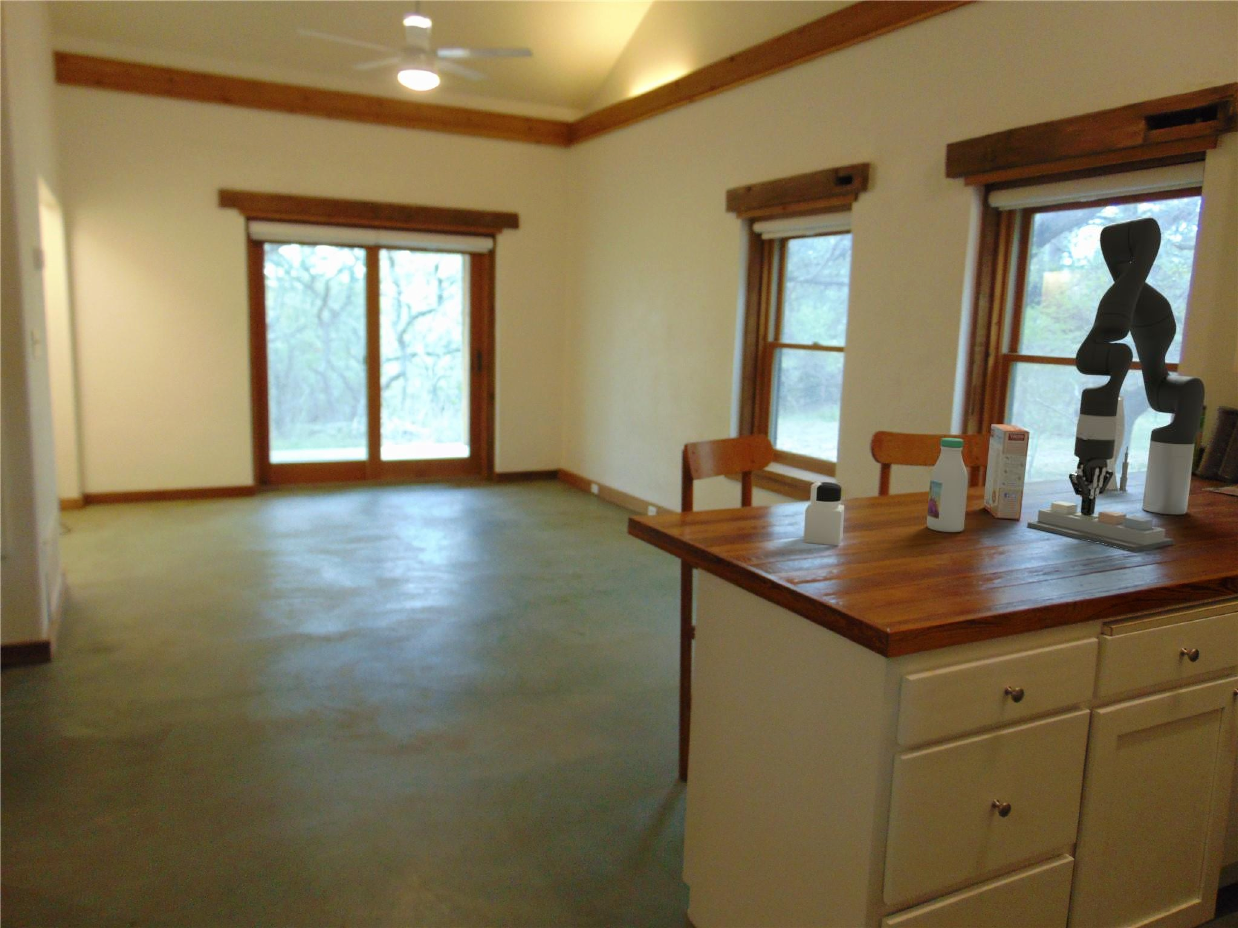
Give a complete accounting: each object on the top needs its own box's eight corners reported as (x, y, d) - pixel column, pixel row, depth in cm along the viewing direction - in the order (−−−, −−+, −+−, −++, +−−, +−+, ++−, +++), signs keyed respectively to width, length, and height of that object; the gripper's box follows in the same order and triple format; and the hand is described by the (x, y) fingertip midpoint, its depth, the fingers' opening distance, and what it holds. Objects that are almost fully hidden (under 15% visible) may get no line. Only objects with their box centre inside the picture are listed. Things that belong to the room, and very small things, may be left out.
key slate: (1133, 528, 186) (1134, 515, 185) (1151, 532, 183) (1152, 519, 182) (1122, 530, 184) (1124, 517, 184) (1140, 534, 181) (1142, 521, 180)
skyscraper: (1101, 492, 242) (1112, 390, 237) (1080, 487, 250) (1090, 388, 245) (1127, 492, 243) (1139, 391, 239) (1106, 486, 251) (1116, 388, 247)
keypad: (1065, 520, 204) (1067, 505, 204) (1172, 544, 184) (1174, 527, 183) (1027, 526, 198) (1028, 511, 197) (1134, 551, 177) (1136, 534, 176)
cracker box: (1022, 520, 204) (1030, 431, 200) (994, 519, 205) (1002, 429, 201) (1008, 508, 217) (1016, 424, 214) (982, 506, 218) (990, 423, 215)
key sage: (1082, 524, 195) (1084, 512, 195) (1099, 528, 192) (1100, 515, 192) (1072, 526, 194) (1073, 514, 193) (1088, 530, 190) (1090, 517, 190)
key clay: (1107, 523, 191) (1109, 510, 190) (1125, 526, 187) (1126, 514, 187) (1097, 525, 189) (1098, 512, 188) (1114, 528, 185) (1116, 515, 185)
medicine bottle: (842, 538, 184) (846, 481, 182) (839, 546, 177) (842, 487, 175) (807, 535, 186) (810, 479, 184) (803, 542, 179) (806, 484, 177)
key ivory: (1060, 513, 200) (1061, 501, 199) (1076, 516, 197) (1077, 504, 196) (1050, 514, 198) (1051, 502, 198) (1065, 518, 195) (1067, 505, 194)
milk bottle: (964, 527, 196) (972, 438, 192) (962, 534, 189) (970, 442, 186) (928, 523, 199) (935, 435, 196) (924, 530, 192) (931, 439, 189)
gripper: (1097, 432, 196) (1088, 508, 199) (1060, 435, 190) (1052, 513, 192) (1130, 436, 190) (1121, 515, 193) (1093, 439, 183) (1085, 520, 186)
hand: (1087, 514), depth 192 cm, fingers closed
